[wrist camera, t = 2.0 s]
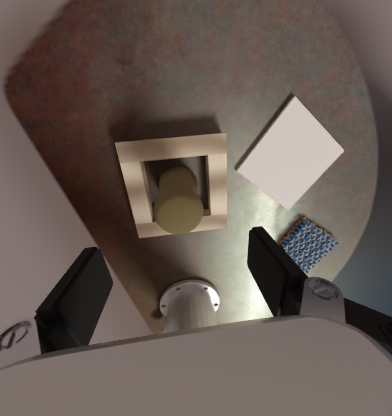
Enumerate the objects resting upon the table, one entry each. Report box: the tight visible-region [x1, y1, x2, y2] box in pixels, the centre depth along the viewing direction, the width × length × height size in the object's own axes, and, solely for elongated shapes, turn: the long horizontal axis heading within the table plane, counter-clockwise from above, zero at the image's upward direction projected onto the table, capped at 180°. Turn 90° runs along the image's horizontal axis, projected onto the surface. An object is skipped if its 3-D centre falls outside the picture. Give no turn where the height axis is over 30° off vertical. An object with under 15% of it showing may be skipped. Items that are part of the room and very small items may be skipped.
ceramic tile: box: [236, 96, 344, 210], centre depth 26 cm, size 12×12×1 cm
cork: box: [154, 166, 203, 234], centre depth 22 cm, size 6×6×11 cm
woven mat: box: [278, 217, 338, 273], centre depth 34 cm, size 10×11×2 cm
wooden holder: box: [115, 133, 227, 238], centre depth 25 cm, size 14×14×2 cm
